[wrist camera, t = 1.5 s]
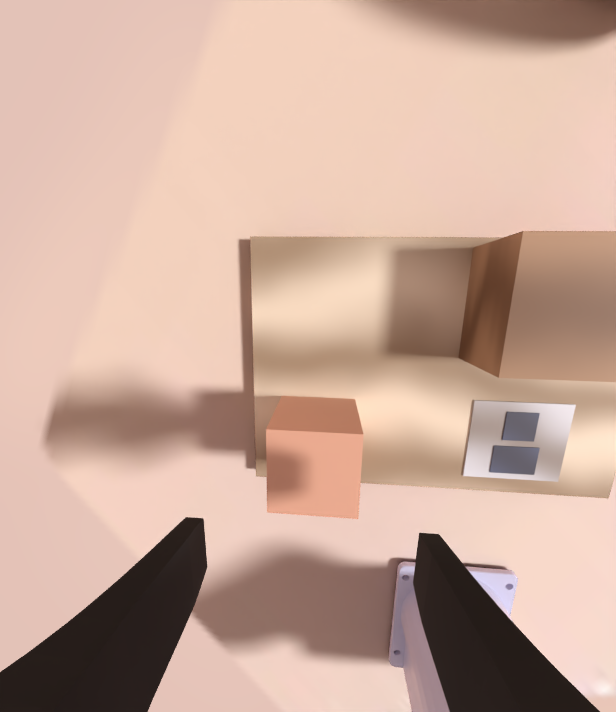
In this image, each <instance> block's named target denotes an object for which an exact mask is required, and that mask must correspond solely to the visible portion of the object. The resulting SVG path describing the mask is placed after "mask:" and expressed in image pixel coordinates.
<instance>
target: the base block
mask: <svg viewBox="0 0 616 712" xmlns="http://www.w3.org/2000/svg"><path fill="white" fill-rule="evenodd" d="M458 358H459V359H461V360H463V361H465V362H467V363H469V364H471V365H473V366H475V367H478V368H480V369H482V370H484V371H486V372H488V373H490V374H492V375H494V376H496V377H498V378H513V379H540V380H568V381H595V382H616V231H522V232H519V233H516V234H513V235H510V236H507V237H504V238H501V239H498V240H495V241H492V242H489V243H486V244H483V245H479V246H476V247H473V252H472V259H471V267H470V274H469V282H468V289H467V297H466V304H465V312H464V319H463V327H462V334H461V342H460V349H459V357H458Z"/></svg>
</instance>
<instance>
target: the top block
mask: <svg viewBox="0 0 616 712" xmlns="http://www.w3.org/2000/svg"><path fill="white" fill-rule="evenodd" d="M363 436H364V434H363V430H362V426H361V422H360V418H359V413H358V409H357V405H356V401H355V399H345V398H322V397H298V396H281V399H280V401H279V403H278V405H277V407H276V409H275V411H274V413H273V416H272V418H271V420H270V422H269V424H268V426H267V428H266V462H267V512H268V513H282V514H297V515H311V516H325V517H339V518H353V519H358V514H359V498H360V482H361V467H362V451H363Z"/></svg>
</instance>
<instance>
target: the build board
mask: <svg viewBox="0 0 616 712" xmlns="http://www.w3.org/2000/svg"><path fill="white" fill-rule="evenodd" d="M498 239H501V238H469V237H250V250H251V291H252V332H253V372H254V413H255V453H256V476H260V477H267V462H266V428H267V426H268V424H269V422H270V420H271V418H272V416H273V413H274V411H275V409H276V407H277V405H278V403H279V401H280V399H281V396H298V397H322V398H345V399H355V401H356V405H357V409H358V413H359V418H360V422H361V426H362V430H363V434H364V436H363V451H362V467H361V482H360V483H372V484H388V485H404V486H420V487H436V488H452V489H468V490H484V491H500V492H516V493H532V494H548V495H564V496H580V497H596V498H609V495H610V491H611V488H612V484H613V480H614V477H615V473H616V382H595V381H568V380H540V379H513V378H498V377H496V376H494V375H492V374H490V373H488V372H486V371H484V370H482V369H480V368H478V367H475V366H473V365H471V364H469V363H467V362H465V361H463V360H461V359H459V358H458V357H459V349H460V342H461V334H462V327H463V319H464V312H465V304H466V297H467V289H468V282H469V274H470V267H471V259H472V252H473V247H476V246H479V245H483V244H486V243H489V242H492V241H495V240H498Z"/></svg>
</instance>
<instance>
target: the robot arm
mask: <svg viewBox="0 0 616 712" xmlns="http://www.w3.org/2000/svg"><path fill="white" fill-rule="evenodd" d="M206 569H207V558H206V545H205V532H204V520H203V518H188V517H186V518H185V519H184V520H183V521H181V522H180V523H179V524H178V525H177V526H176V527H175V528H174V529H173V530H172V531H171V532H170V533H169V534H168V535H167V536H165V537H164V538H163V539H162V540H161V541H160V542H159V543H158V544H157V545H156V546H155V547H154V548H153V549H152V550H151V551H150V552H149V553H147V554H146V555H145V556H144V557H143V558H142V559H141V560H140V561H139V562H138V563H136V564H135V566H133V567H132V568H131V569H130V570H129V571H128V572H127V573H126V574H124V576H122V577H121V578H120V579H119V580H118V581H117V582H115V583H114V584H113V585H112V586H111V587H110V588H108V590H106V591H105V592H104V593H103V594H101V595H100V596H99V597H98V598H97V599H95V600H94V601H93V602H92V603H91V604H90V605H88V606H87V607H86V608H85V609H84V610H82V611H81V612H80V613H79V614H78V615H76V616H75V617H74V618H73V619H71V620H70V621H69V622H68V623H67V624H65V625H64V626H62V627H61V628H60V629H59V630H57V631H56V632H55V633H53V634H52V635H51V636H50V637H48V638H47V639H45V640H44V641H43V642H42V643H40V644H39V645H38V646H36V647H35V648H34V649H32V650H31V651H29V652H28V653H27V654H26V655H24V656H23V657H21V658H20V659H18V660H17V661H15V662H14V663H13V664H11V665H10V666H8V667H7V668H6V669H4V670H3V671H1V672H0V712H148V709H149V707H150V704H151V702H152V700H153V697H154V695H155V693H156V691H157V688H158V686H159V684H160V682H161V679H162V677H163V675H164V673H165V670H166V668H167V666H168V663H169V661H170V659H171V657H172V655H173V653H174V650H175V648H176V646H177V643H178V641H179V639H180V637H181V635H182V632H183V630H184V628H185V626H186V623H187V621H188V619H189V616H190V614H191V612H192V609H193V607H194V605H195V602H196V599H197V596H198V593H199V591H200V588H201V585H202V582H203V579H204V575H205V572H206ZM517 582H518V578H517V576H516V575H515V573H514V572H513V571H511V570H503V569H491V568H479V567H466V566H464V565H463V563H462V562H461V561H460V560H459V558H458V557H457V556H456V555H455V553H454V552H453V551H452V550H451V549H450V547H449V546H448V545H447V544H446V542H445V541H444V540H443V539H442V537H441V536H440V535H439V534H428V533H419V540H418V547H417V555H416V562H401V563H400V564H399V565H398V570H397V580H396V589H395V599H394V609H393V618H392V628H391V638H390V647H389V662H390V664H391V665H392V666H394V667H401V668H403V669H404V674H405V679H406V684H407V689H408V694H409V699H410V704H411V709H412V712H600V711H599V710H598V709H597V708H596V707H595V706H593V705H592V704H591V703H590V702H589V701H588V700H587V699H586V698H585V697H584V696H583V695H582V694H581V693H580V692H579V691H578V690H577V689H576V688H575V687H574V686H573V685H572V684H571V683H570V682H569V681H568V680H567V679H566V678H565V677H564V676H563V675H562V674H561V673H560V672H559V671H558V670H557V669H556V668H555V667H554V666H553V665H552V664H551V663H550V662H549V661H548V660H547V659H546V657H545V656H544V655H543V654H542V653H541V652H540V651H539V650H538V649H537V648H536V647H535V646H534V645H533V644H532V643H531V642H530V640H529V639H528V638H527V637H526V636H525V635H524V634H523V633H522V632H521V631H520V630H519V629H518V627H517V626H516V625H515V624H514V623H513V621H512V619H511V617H510V614H511V610H512V605H513V600H514V596H515V591H516V587H517Z"/></svg>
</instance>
